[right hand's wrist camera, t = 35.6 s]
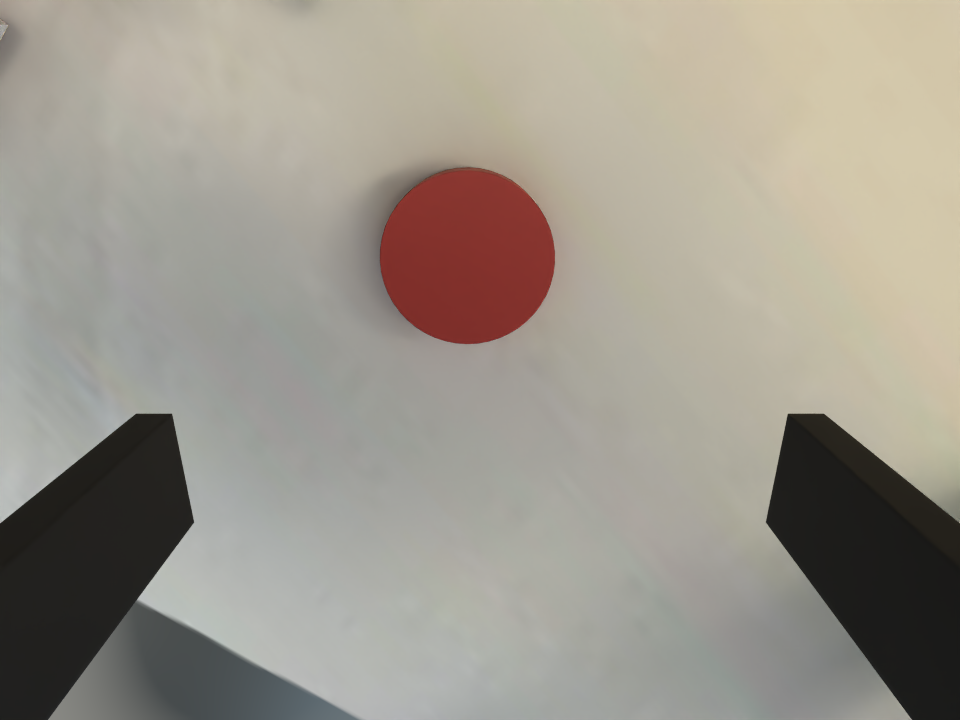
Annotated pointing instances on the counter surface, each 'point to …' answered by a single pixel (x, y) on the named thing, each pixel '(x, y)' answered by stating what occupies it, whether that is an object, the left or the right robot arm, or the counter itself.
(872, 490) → the right robot arm
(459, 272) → the lid
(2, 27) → the toy
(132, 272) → the counter surface
